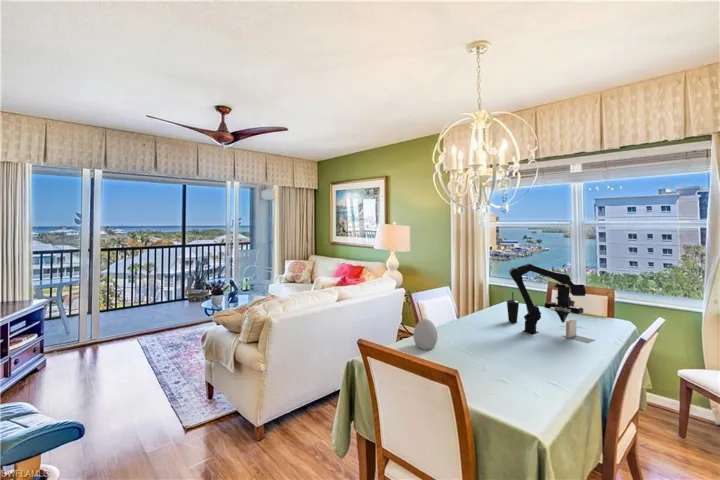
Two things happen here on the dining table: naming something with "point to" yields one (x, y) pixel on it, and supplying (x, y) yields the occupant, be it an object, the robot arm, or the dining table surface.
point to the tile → (571, 328)
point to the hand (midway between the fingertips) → (563, 322)
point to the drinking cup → (512, 310)
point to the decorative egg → (425, 335)
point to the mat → (581, 339)
